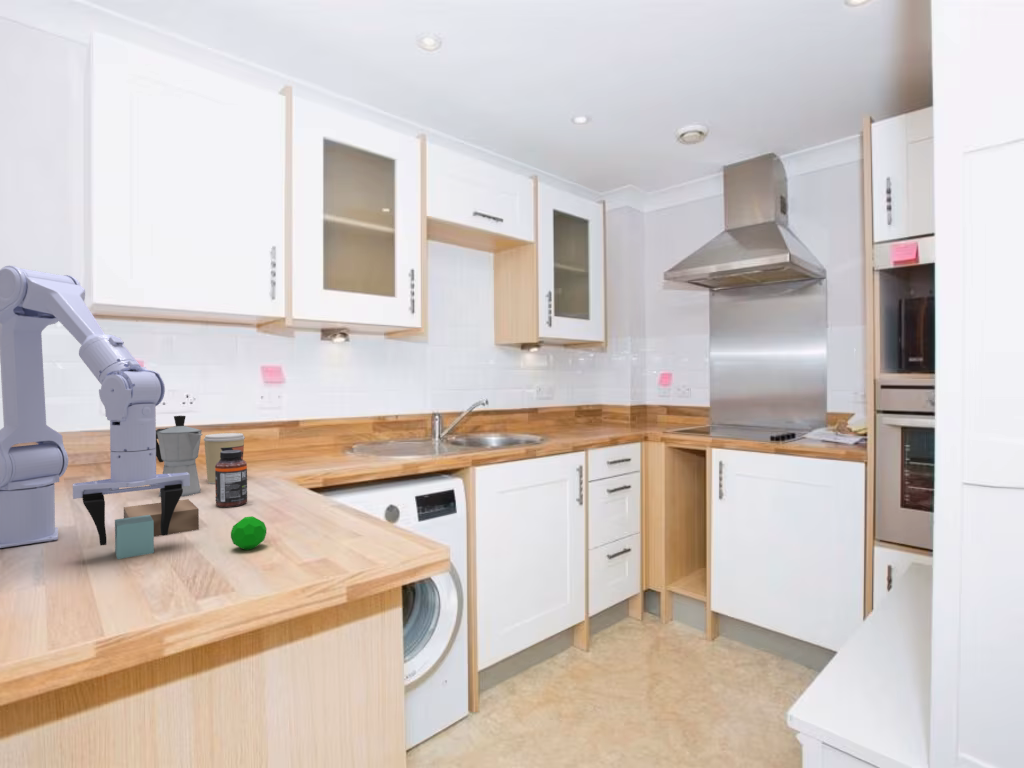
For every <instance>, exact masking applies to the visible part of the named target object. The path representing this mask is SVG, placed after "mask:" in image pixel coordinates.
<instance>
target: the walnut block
mask: <svg viewBox="0 0 1024 768" xmlns="http://www.w3.org/2000/svg"><path fill="white" fill-rule="evenodd" d="M199 512H200V510H199V508H198V506H196V505H195V504H194V503H193V502H192V501H191V500H190V499H189V498H187V499H179V501H178V503H177V505H176V507H175V509H174V512H173V514H172V517H171V521H170V524H169V529H168V535H172V534H173V533H174V534H177V533H178V534H180V533H185V532H192V530H193V531H197V530H198V531H199V530H200V529H199V528H200V527H199V523H200V521H199V519H200V517H199V515H200V513H199ZM145 515H150V516H151V517H152V519H153V521H154V537H159V535H161V536H162V534H161V527H160V526H161V502H157V503H155V502H154V503H148V504H146V503H145V504H139V505H131V506H123V518H130V517H138V516H145ZM179 532H180V533H179Z"/></svg>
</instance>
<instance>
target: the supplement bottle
mask: <svg viewBox="0 0 1024 768" xmlns="http://www.w3.org/2000/svg"><path fill="white" fill-rule="evenodd" d="M241 457H242V451H241V450H226V451H221V452H220V458H221V459H220V461H219V462H217V464H216V465H215V484H214V486H215V505H216V506H217V507H219V508H220V507H221V508H236V507H239V506H244V505H245V504H247V502H248V464H247V461H245V460H244V459H243V460H242V459H241Z"/></svg>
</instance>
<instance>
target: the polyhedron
mask: <svg viewBox="0 0 1024 768" xmlns="http://www.w3.org/2000/svg"><path fill="white" fill-rule="evenodd" d="M266 526H267V525H266V524H265V522H264V521H262V520H261V519H258V518H256V517H255V516H244V517H243V518H242V519H240V520H239V521H238V522H236V523H235V524H234V525H233V526H232V527H231V531H230V538H231V541H232V544H233V545H235V546H237V547H238V548H240V549H242V550H244V551H248V550H254V549H255V548H256V547H258V546H259V545H260V544H261V543H263V542H264V541H265V538H266V536H267V527H266Z"/></svg>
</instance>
